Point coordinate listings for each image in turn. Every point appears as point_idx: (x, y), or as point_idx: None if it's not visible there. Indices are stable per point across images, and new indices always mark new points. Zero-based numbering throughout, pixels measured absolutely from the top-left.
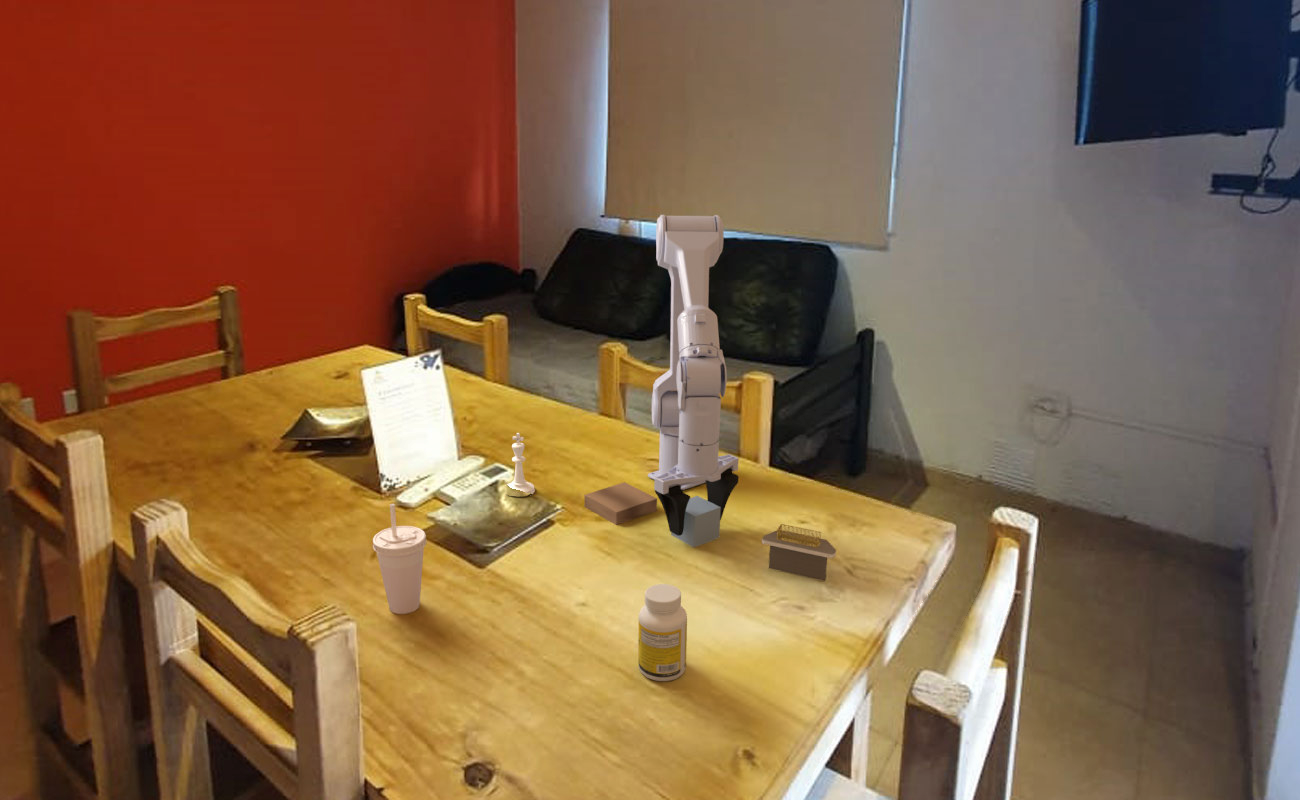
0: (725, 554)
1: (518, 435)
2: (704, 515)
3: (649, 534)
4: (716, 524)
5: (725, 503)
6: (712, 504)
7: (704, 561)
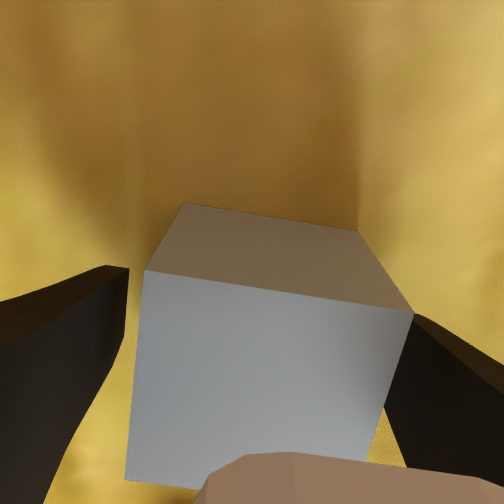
0: (315, 58)
1: None
2: (313, 288)
3: (376, 435)
4: (198, 232)
5: (46, 292)
6: (154, 339)
7: (455, 97)
